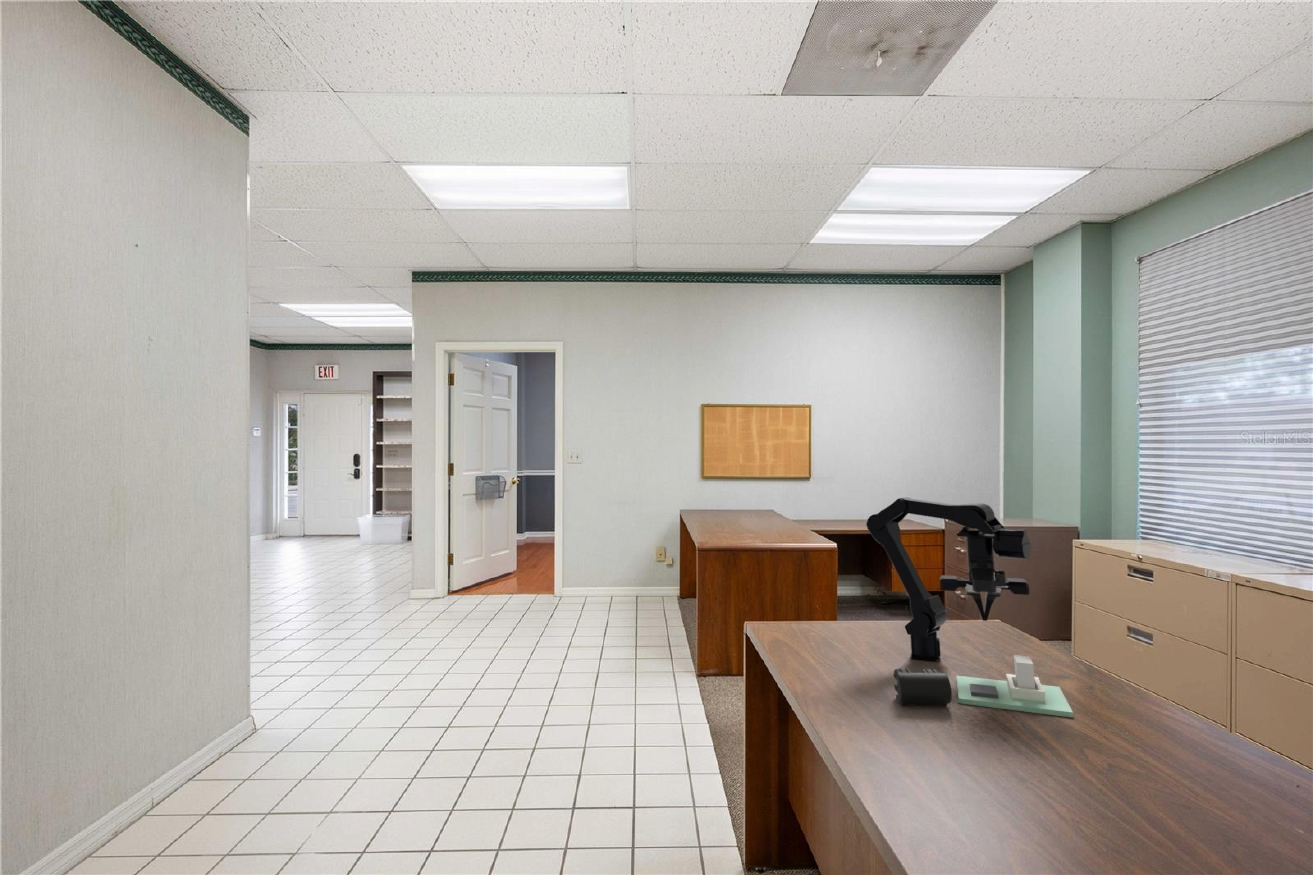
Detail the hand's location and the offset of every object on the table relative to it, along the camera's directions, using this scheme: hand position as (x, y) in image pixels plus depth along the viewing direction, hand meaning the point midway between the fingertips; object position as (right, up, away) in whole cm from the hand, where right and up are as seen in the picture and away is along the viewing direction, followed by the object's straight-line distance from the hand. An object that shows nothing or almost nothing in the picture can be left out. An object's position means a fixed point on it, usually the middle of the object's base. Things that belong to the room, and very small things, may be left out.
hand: (984, 620), depth 141 cm
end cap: (-23, -12, -18) cm, 32 cm away
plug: (-1, -10, -17) cm, 20 cm away
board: (-4, -11, -16) cm, 20 cm away
